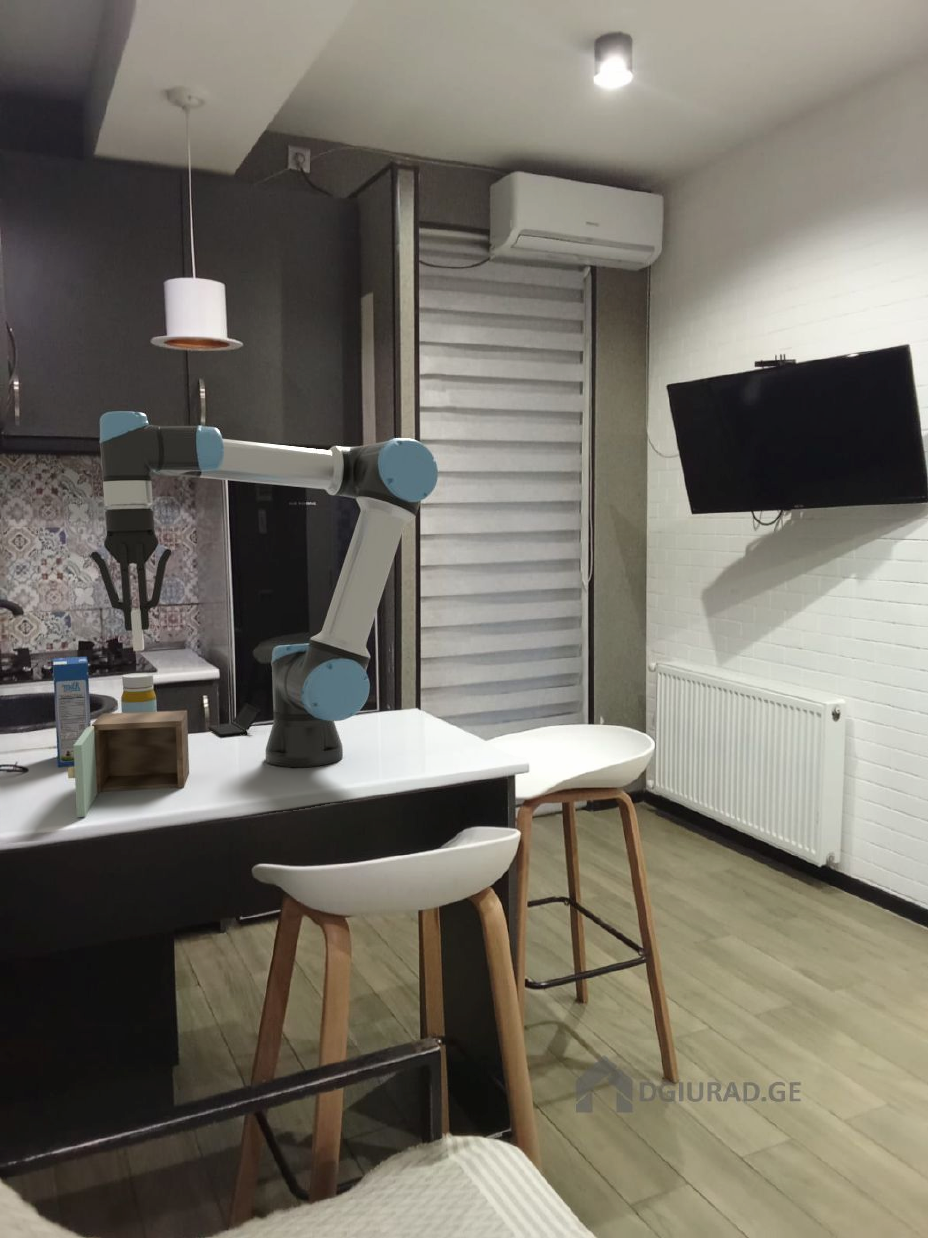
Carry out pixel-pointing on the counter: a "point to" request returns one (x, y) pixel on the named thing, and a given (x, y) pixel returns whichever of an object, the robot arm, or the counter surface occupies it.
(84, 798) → the cabinet door
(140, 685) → the bottle
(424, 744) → the counter surface
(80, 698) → the milk carton
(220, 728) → the handheld gaming console
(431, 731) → the counter surface
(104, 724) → the walnut cabinet
